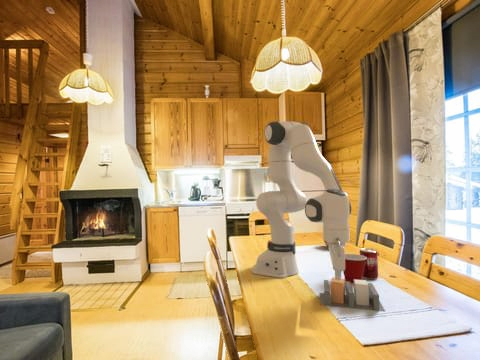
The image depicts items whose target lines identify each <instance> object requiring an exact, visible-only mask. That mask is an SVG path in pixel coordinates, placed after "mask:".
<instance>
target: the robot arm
mask: <svg viewBox="0 0 480 360" xmlns="http://www.w3.org/2000/svg"><path fill="white" fill-rule="evenodd" d="M263 134H264V139H265V141H266V142H267V144H269V149H268V177H269V179H270V181H271V182H273V183H275V184H277V186H278V188H279V190H272V191H271V190H269V191H264V192H262V193H261V192H260V194H259V195H258V196H257V198H256V202H255V203H256V209H258V211H259V212H260V213H261V214H262V215H263V216H265V218H266V219H267V221H268V224H269V227H270V239H271V240H268V241H267V244H266V248H267V249H266V250H264V251H263V252H261V254H259V255H258V256H257V259H256V263H255V264H254V265H253V266H252V267H251V273H252V274H254V275H259V276H267V277H273V278H279V279H280V278H281V279H283V278H287V277H290V276H291V277H292V276H295V275H297V274H298V273H299V268H298V264H297V260H296V252H297V249H296V247H297V246H296V241H295V227H294V225H293V224H292V223H291V222H290V221H288V220H286V218H285V215H284V214H290V213H291V214H292V213H297V212H301V211H303V210H304V213H305V217H306V218H307V219H308V220H309V221H310V222H311V223H323V226H322V232H323V233H322V235H323V236H322V240H324V241H326V242H327V245H328V246H327V245H326V246H327V247H328V253H329V256H330V260H331V265H332V270H333V271H334V278H335V280H341V279H342V273H343V271H345V254H346V252H345V251H346V250H345V247H346V246H347V244H348V243H350V240H351V237H350V236H351V231H350V230H351V229H350V228H351V227H350V224H349V223H350V222H349V219H350V216H351V213H352V204H351V201H350V198H349V195H348V193H347V192H346V191H344V190H343V189H342V186H341V184H340V183H339V180H338V178H337V176H336V174H335V171H334V169H333V167H332V165H331V163H330V162H329V161H328V160H326V158H325V157H324V156H323V155H322V153H321V151H320V149H319V147H318V143H317V141H316V138H315V136H314V133H313V131H312V130H311V127H310V126H309V125H308V124H307V123H305V122H296V121H292V120H291V121H289V120H288V121H278V120H275V121H270V122H268V123H267V125H266V126H265V128H264V133H263ZM292 162H293V164H294V165H295V167H297V168H298V169H299V170H302V171H303V172H307V173H310V174H312V175H314V176H315V177H317V178H319V179H320V180H321V182H322V184H323V187H324V189H325V190H324V192H323V193H322V194H320V195H317V196H314V197H310V198H308V200H307V197H306V195H305V193H304V192H303V191H301V190H300V189H299V187H298V186H297V185H296V182H295V180H294V176H293V166H292ZM324 241H323V242H324Z"/></svg>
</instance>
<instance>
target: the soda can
mask: <svg viewBox="0 0 480 360" xmlns="http://www.w3.org/2000/svg"><path fill="white" fill-rule="evenodd" d="M359 255H362V256H365V257H367V259H366V261H365V265H364V270H363V277H362V279H366V280H377V279H378V278H379V256H378V255H379V253H378V251H377V249H376V248H375V249H374V248H370V247H369V248H367V247H363V248H360V249H359Z"/></svg>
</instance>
